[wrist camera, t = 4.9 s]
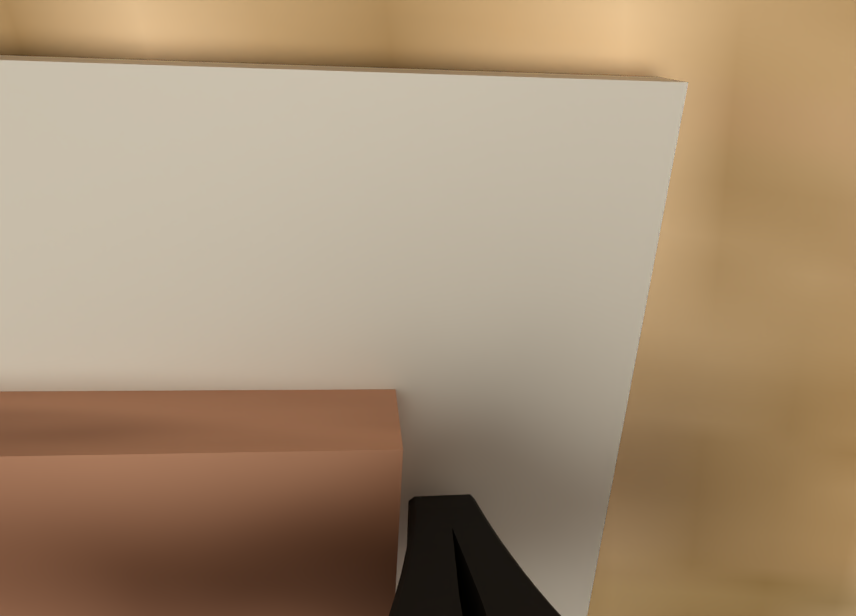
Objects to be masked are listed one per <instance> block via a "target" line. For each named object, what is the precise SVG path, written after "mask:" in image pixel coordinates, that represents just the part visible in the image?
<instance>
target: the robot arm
mask: <svg viewBox="0 0 856 616" xmlns="http://www.w3.org/2000/svg"><path fill="white" fill-rule="evenodd" d="M389 616H561V615H560V614H559V613H558V612H557V611H556V610H555V608H554V607H553V606H552V605H551V604H550V603H549V602H548V600H547V599H546V598H545V597H544V596H543V595H542V593H541V592H540V591H539V590H538V589H537V587H536V586H535V585H534V584H533V583H532V581H531V580H530V579H529V577H528V576H527V575H526V574H525V572H524V571H523V570H522V568H521V567H520V566H519V564H518V563H517V562H516V560H515V559H514V558H513V556H512V555H511V554H510V552H509V551H508V550H507V548H506V547H505V545H504V544H503V543H502V541H501V540H500V538H499V537H498V535H497V534H496V532H495V531H494V529H493V528H492V526H491V525H490V523H489V522H488V520H487V519H486V517H485V515H484V514H483V512H482V510H481V509H480V507H479V505H478V504H477V502H476V500H475V498H473V497H472V496H471V495H470V494H462V495H438V496H414V497H413V498H412V499H410V500H409V501H408V527H407V548H406V553H405V557H404V562H403V567H402V572H401V576H400V579H399V583H398V586H397V590H396V593H395V597H394V600H393V603H392V607H391V610H390V613H389Z"/></svg>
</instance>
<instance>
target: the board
mask: <svg viewBox="0 0 856 616" xmlns="http://www.w3.org/2000/svg"><path fill="white" fill-rule="evenodd" d="M687 87H688V82H683V81H678V80H672V79H667V78H661V77H645V76H615V75H585V74H555V73H525V72H495V71H465V70H435V69H405V68H375V67H345V66H315V65H285V64H255V63H225V62H195V61H165V60H135V59H105V58H75V57H45V56H15V55H0V392H7V391H182V390H358V389H396V397H397V405H398V413H399V421H400V429H401V437H402V445H403V461H402V480H401V498H400V517H399V535H398V554H397V573H396V590H397V586H398V583H399V579H400V576H401V572H402V567H403V562H404V557H405V553H406V548H407V527H408V501H409V500H410V499H412V498H413V497H414V496H438V495H462V494H470V495H471V496H472V497H473V498H475V500H476V502H477V504H478V505H479V507H480V509H481V510H482V512H483V514H484V515H485V517H486V519H487V520H488V522H489V523H490V525H491V526H492V528H493V529H494V531H495V532H496V534H497V535H498V537H499V538H500V540H501V541H502V543H503V544H504V545H505V547H506V548H507V550H508V551H509V552H510V554H511V555H512V556H513V558H514V559H515V560H516V562H517V563H518V564H519V566H520V567H521V568H522V570H523V571H524V572H525V574H526V575H527V576H528V577H529V579H530V580H531V581H532V583H533V584H534V585H535V586H536V587H537V589H538V590H539V591H540V592H541V593H542V595H543V596H544V597H545V598H546V599H547V600H548V602H549V603H550V604H551V605H552V606H553V607H554V608H555V610H556V611H557V612H558V613H559V614H560V615H561V616H587V614H588V608H589V603H590V598H591V593H592V587H593V582H594V577H595V571H596V566H597V561H598V556H599V550H600V545H601V540H602V535H603V529H604V524H605V519H606V513H607V508H608V503H609V498H610V492H611V487H612V482H613V477H614V471H615V466H616V461H617V455H618V450H619V445H620V440H621V434H622V429H623V424H624V419H625V413H626V408H627V403H628V398H629V392H630V387H631V382H632V376H633V371H634V366H635V361H636V355H637V350H638V345H639V340H640V334H641V329H642V324H643V318H644V313H645V308H646V303H647V297H648V292H649V287H650V282H651V276H652V271H653V266H654V260H655V255H656V250H657V245H658V239H659V234H660V229H661V224H662V218H663V213H664V208H665V202H666V197H667V192H668V187H669V181H670V176H671V171H672V166H673V160H674V155H675V150H676V145H677V139H678V134H679V129H680V123H681V118H682V113H683V108H684V102H685V97H686V92H687ZM395 593H396V591H395Z"/></svg>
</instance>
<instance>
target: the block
mask: <svg viewBox="0 0 856 616" xmlns="http://www.w3.org/2000/svg"><path fill="white" fill-rule="evenodd" d="M402 461H403V445H402V437H401V429H400V421H399V413H398V405H397V397H396V389H358V390H182V391H7V392H0V616H389V613H390V610H391V607H392V603H393V600H394V597H395V591H396V573H397V554H398V535H399V517H400V498H401V480H402Z"/></svg>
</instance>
